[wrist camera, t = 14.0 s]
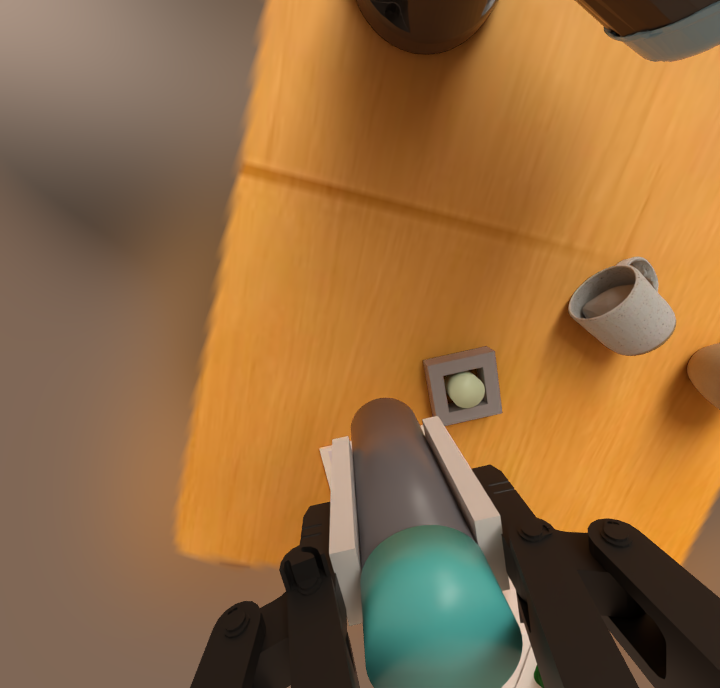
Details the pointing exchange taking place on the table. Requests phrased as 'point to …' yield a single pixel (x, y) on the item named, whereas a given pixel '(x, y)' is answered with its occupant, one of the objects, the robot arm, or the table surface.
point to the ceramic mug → (624, 308)
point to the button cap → (464, 389)
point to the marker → (422, 566)
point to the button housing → (461, 362)
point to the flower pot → (706, 373)
